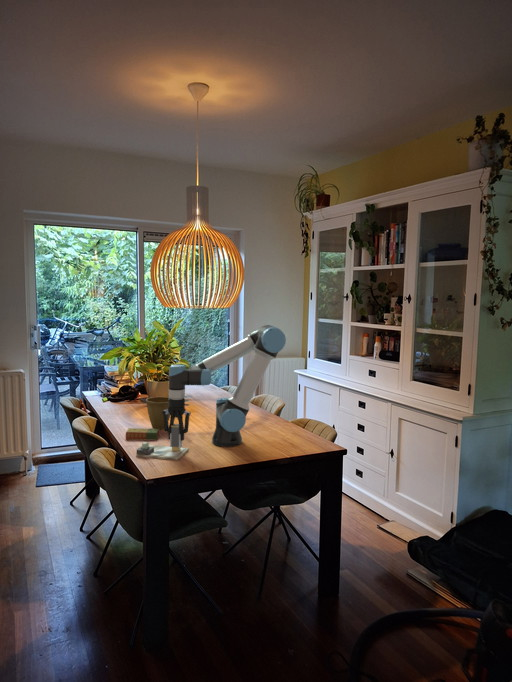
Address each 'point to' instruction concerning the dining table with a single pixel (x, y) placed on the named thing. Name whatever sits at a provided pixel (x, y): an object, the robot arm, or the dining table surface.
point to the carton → (142, 434)
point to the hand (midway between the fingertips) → (176, 446)
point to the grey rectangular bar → (175, 437)
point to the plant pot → (157, 411)
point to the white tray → (161, 452)
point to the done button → (145, 446)
